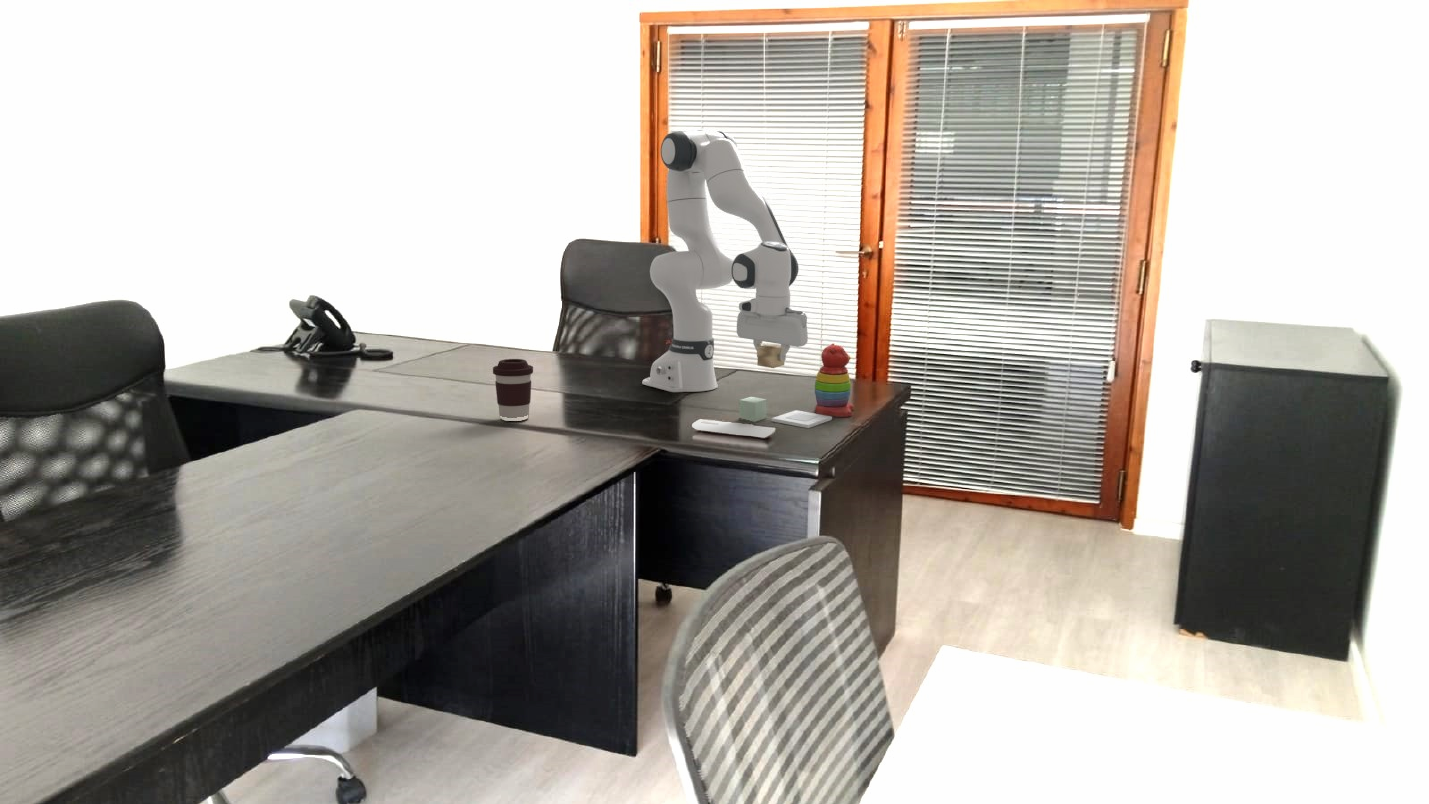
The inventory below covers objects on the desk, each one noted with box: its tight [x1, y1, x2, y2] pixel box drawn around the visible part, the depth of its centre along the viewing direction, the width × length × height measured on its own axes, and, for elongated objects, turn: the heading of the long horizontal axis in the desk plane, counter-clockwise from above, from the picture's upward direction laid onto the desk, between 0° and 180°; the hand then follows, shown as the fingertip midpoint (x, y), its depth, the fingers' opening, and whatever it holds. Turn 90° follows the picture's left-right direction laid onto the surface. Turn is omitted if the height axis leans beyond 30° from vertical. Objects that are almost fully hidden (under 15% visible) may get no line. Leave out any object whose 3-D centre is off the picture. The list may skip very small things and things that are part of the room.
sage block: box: [738, 396, 768, 423], centre depth 281 cm, size 5×5×5 cm
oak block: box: [757, 343, 785, 369], centre depth 285 cm, size 5×5×5 cm
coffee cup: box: [492, 358, 534, 418], centre depth 278 cm, size 10×10×15 cm
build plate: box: [771, 409, 833, 429], centre depth 280 cm, size 11×11×1 cm
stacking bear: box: [814, 343, 855, 418], centre depth 287 cm, size 11×10×18 cm
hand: (771, 359), depth 285 cm, fingers closed on oak block, 5 cm apart
